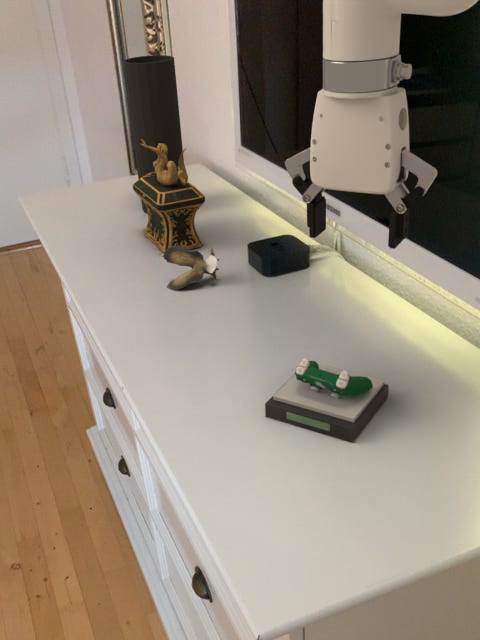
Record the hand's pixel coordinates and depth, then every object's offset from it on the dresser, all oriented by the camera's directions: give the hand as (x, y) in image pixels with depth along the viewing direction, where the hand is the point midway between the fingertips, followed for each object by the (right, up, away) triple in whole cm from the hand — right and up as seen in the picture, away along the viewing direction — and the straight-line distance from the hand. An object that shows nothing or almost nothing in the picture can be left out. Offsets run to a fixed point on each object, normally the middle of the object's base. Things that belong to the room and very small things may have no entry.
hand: (355, 239), depth 81 cm
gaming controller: (-2, -17, +7) cm, 19 cm away
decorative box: (-26, +15, +59) cm, 66 cm away
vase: (-30, +27, +77) cm, 87 cm away
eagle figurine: (-22, +4, +43) cm, 48 cm away
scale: (-2, -19, +9) cm, 21 cm away
